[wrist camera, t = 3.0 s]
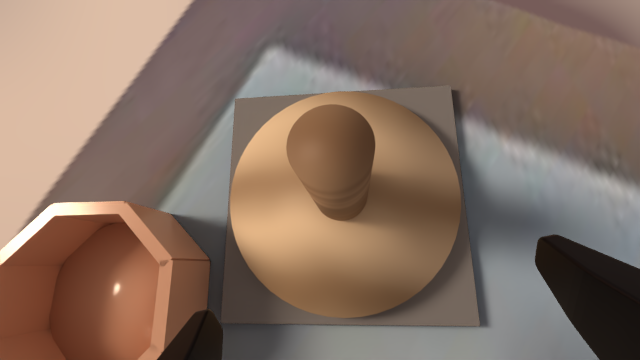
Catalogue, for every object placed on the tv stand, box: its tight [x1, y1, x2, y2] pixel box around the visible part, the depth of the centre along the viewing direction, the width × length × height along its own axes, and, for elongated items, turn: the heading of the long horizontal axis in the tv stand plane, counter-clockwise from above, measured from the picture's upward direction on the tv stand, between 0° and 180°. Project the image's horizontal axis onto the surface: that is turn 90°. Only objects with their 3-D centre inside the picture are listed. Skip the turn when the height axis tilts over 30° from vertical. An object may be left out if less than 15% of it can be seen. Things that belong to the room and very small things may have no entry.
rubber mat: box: [221, 85, 480, 326], centre depth 21 cm, size 15×15×1 cm
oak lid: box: [230, 92, 461, 318], centre depth 16 cm, size 14×14×10 cm
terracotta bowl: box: [0, 201, 211, 360], centre depth 19 cm, size 11×11×4 cm
